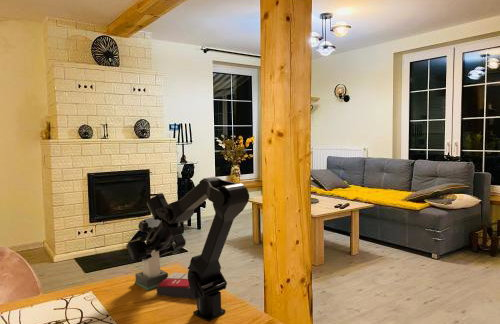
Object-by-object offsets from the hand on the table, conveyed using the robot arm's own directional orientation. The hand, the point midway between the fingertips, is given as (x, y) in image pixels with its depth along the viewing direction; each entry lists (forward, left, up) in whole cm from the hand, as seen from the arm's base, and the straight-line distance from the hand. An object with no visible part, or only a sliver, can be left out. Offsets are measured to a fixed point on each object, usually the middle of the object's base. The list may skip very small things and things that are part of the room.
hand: (148, 258), depth 123 cm
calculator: (-15, -4, -9) cm, 17 cm away
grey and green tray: (-1, 0, -8) cm, 8 cm away
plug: (-1, 0, -7) cm, 7 cm away
